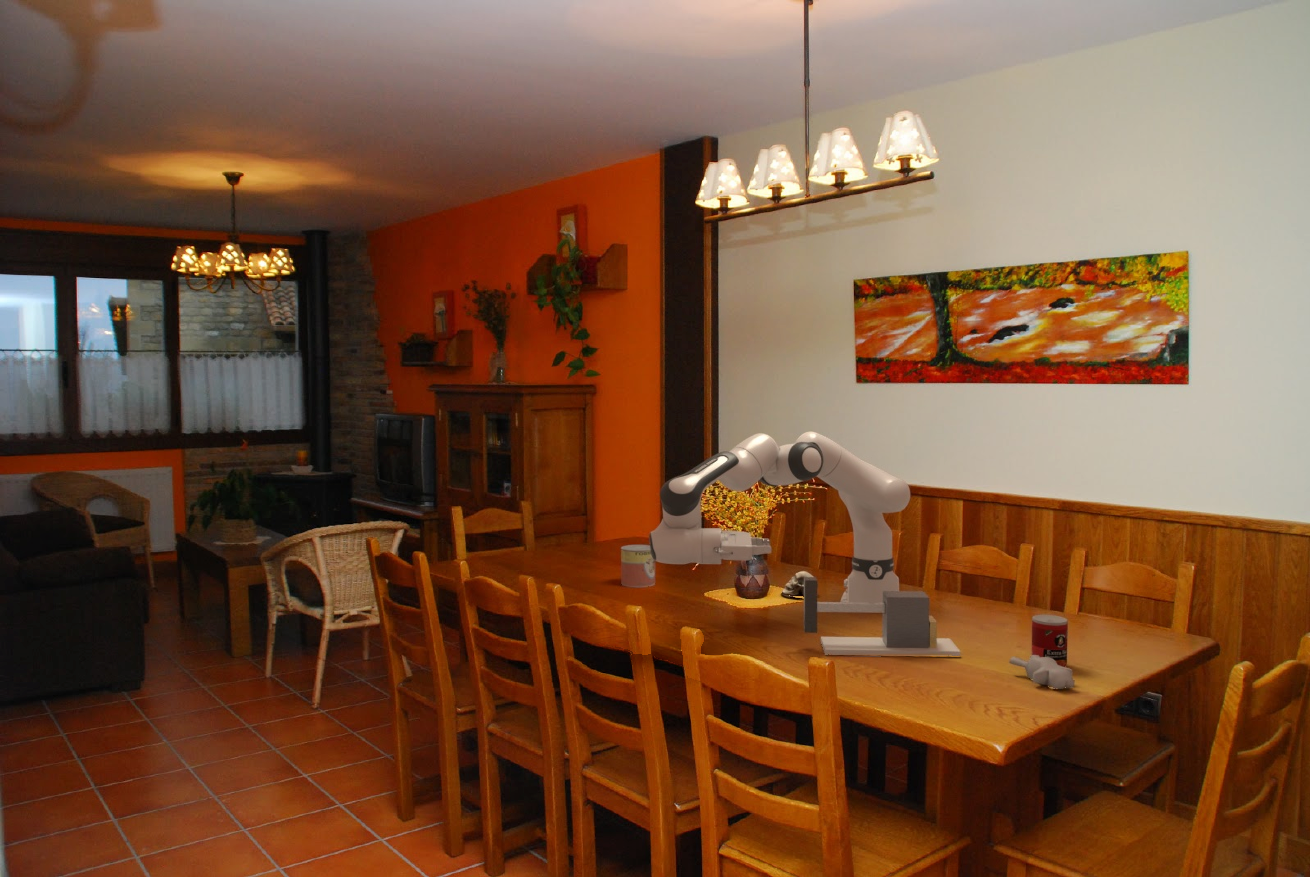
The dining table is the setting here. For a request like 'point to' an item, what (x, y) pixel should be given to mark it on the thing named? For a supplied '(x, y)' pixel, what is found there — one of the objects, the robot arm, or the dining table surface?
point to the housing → (906, 619)
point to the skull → (796, 585)
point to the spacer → (932, 632)
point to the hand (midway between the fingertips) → (770, 545)
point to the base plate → (882, 647)
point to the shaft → (830, 606)
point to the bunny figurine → (1046, 671)
